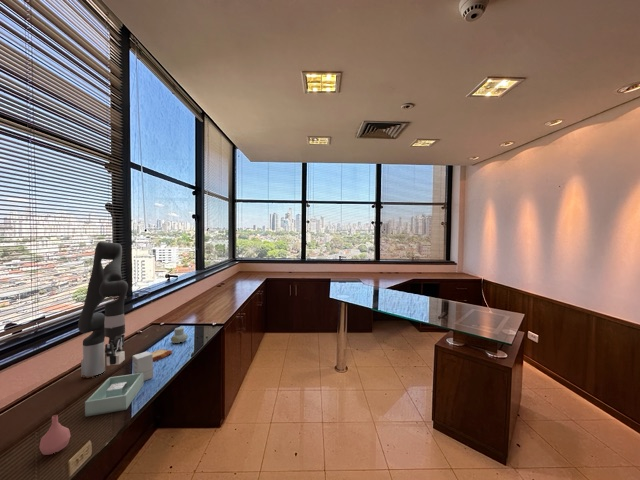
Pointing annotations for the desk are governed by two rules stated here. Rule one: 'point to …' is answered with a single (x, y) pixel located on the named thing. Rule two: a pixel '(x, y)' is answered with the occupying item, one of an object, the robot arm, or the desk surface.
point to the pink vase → (54, 438)
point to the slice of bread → (160, 354)
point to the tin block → (116, 389)
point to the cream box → (117, 358)
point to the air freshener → (179, 335)
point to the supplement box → (143, 364)
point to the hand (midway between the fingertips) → (115, 361)
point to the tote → (116, 403)
